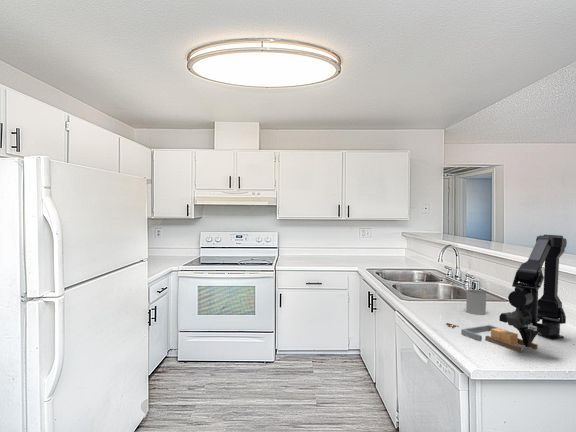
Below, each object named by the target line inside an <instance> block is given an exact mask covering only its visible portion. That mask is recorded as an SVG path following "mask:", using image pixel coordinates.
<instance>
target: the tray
mask: <svg viewBox="0 0 576 432" xmlns="http://www.w3.org/2000/svg"><path fill="white" fill-rule="evenodd" d="M495 328H500V329H503V328H501V327H498V326H494V325H492V324H487V325H485V324H484V325H480V326H474V327H467V328H462V329H461V330H460V334H461V335H462V336H465V337H468V338H471V339H473V340H475V341H479V342H482V339H483V338H482V336H483V335H481V334H478V333H482V332H487V331H488V332H489V331H490V332H491V329H495ZM503 330H506V331H508V330H507V329H503Z"/></svg>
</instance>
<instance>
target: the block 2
mask: <svg viewBox="0 0 576 432" xmlns="http://www.w3.org/2000/svg"><path fill="white" fill-rule="evenodd" d="M518 335H519V334H518V333H516V332H513V331H512V332H511V331H510V330H507V331H505V332H501V334H500V340H501V341H504V342H507V343H510V344H513V345H516V346H518V338H519V336H518Z"/></svg>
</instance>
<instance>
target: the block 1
mask: <svg viewBox="0 0 576 432" xmlns="http://www.w3.org/2000/svg"><path fill="white" fill-rule="evenodd" d="M500 328H501V327H498V328H495V329H491V331H490V337H493V338H496V339H499V340H500V334H501V332H505V331H506V330H507V329H504V330H503V328H501V329H500Z"/></svg>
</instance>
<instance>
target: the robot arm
mask: <svg viewBox="0 0 576 432" xmlns="http://www.w3.org/2000/svg"><path fill="white" fill-rule="evenodd" d="M535 239H536V240H535V244H534V247H533V248H532V251H531V252H530V254H529V258H528V259H527V261H525V262H522V263H521V265H520V266H519V267H518V269H517V270H516V272H515V275H514V278H513V280H512V281H513V282H512V284H511V285H512V286H511V287H513V288H514V290H513V291H511V292H510V293H509V294H508V296H507V300H508V302H509V304H510V305H511V306H512V307H514V308H515V310H514V311H512V312H510V311H508V312H502V313H500V315H499V318H498V319H499V322H502V323H505V324H506V323H507V324H508V325H509V326H513V328H515V329H516V330H517V331H518V332H519V334H520V337H521V339H522V340H523V343H524V345H525V346H524V345H523V346H524V347H525V348H527V349H528V348H530V347H529V346H530V345H531V343H533V341H534V339H535V338H536V336H537V335H538V336H541V337H544V338H548V339H550V340H557V339H562V338H563V339H564V337H565V336H564V335H561V325H562V324H564V325H565V324H566V323H567V321H566V320H567V316H566V313H565V311H564V308H563V302H562V301H561V299H560V297H559V295H558V290H559V289H558V288H559V271H560V270H559V267H560V258H561V256H562V255H563V254H564V253H565V249H566V248H567V244H568V243H567V238H565V237H564V236H563V235H559V234H543V235H541V234H540V235H538V236H536V238H535ZM543 266H544V270H543V269H542V268H543ZM543 271H544V273H543ZM542 284H543V291H542V292H543V294H542V295H541V297H540V298H539V290H540V289H541V287H542Z"/></svg>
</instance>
